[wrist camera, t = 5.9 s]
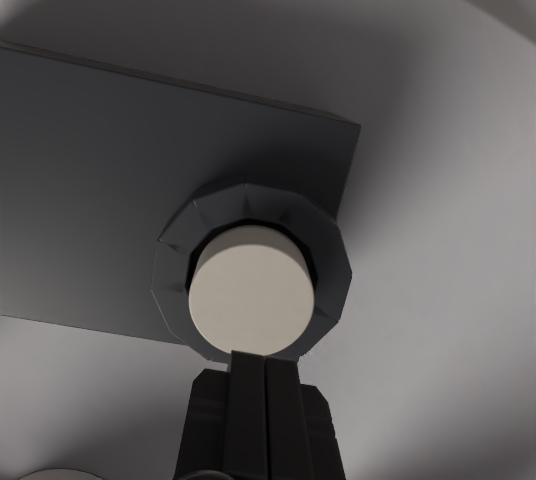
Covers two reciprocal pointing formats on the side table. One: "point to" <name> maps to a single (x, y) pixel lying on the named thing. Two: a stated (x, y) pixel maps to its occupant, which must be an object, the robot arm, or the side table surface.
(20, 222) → the dark gray box
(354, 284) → the side table surface
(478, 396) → the side table surface
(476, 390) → the side table surface
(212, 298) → the beige push button
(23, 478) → the mug
